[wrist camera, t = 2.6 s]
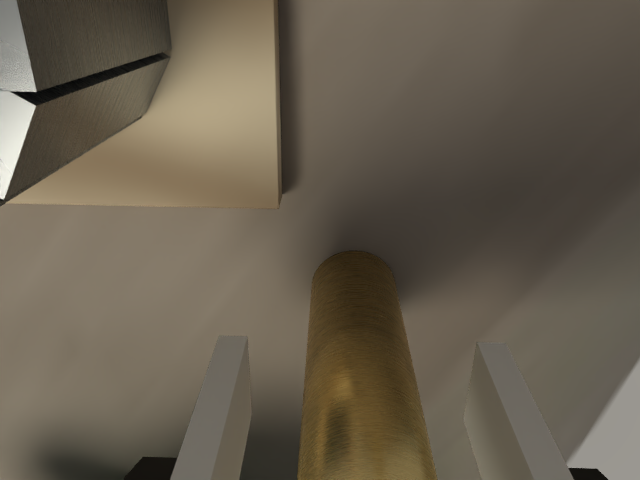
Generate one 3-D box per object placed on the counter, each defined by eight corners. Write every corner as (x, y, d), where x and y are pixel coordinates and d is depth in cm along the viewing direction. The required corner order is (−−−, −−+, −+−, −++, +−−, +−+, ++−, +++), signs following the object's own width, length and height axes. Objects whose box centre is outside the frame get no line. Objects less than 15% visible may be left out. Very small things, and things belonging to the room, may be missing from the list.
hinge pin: (391, 323, 19) (486, 851, 7) (311, 321, 19) (275, 841, 7) (398, 251, 18) (525, 750, 6) (311, 250, 18) (269, 741, 6)
